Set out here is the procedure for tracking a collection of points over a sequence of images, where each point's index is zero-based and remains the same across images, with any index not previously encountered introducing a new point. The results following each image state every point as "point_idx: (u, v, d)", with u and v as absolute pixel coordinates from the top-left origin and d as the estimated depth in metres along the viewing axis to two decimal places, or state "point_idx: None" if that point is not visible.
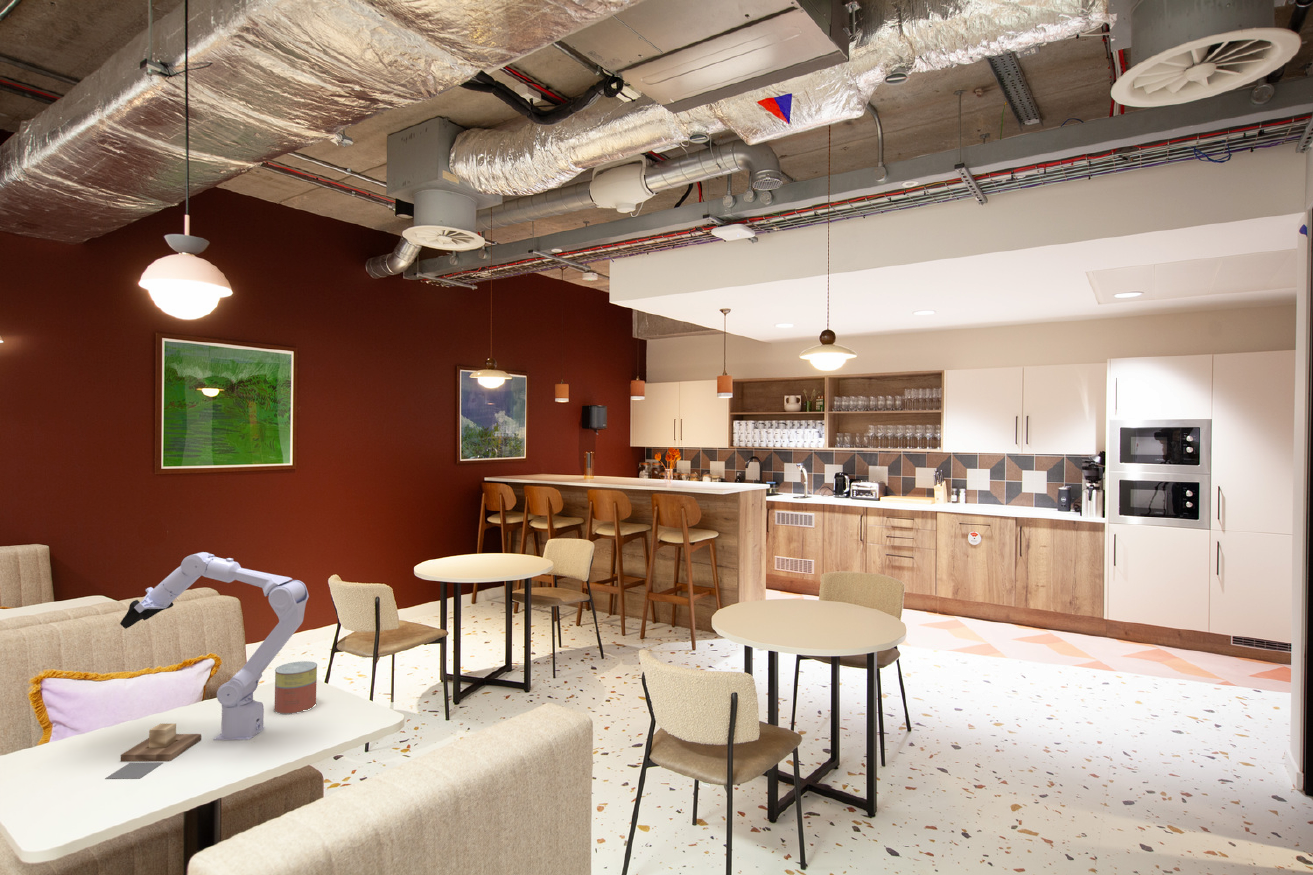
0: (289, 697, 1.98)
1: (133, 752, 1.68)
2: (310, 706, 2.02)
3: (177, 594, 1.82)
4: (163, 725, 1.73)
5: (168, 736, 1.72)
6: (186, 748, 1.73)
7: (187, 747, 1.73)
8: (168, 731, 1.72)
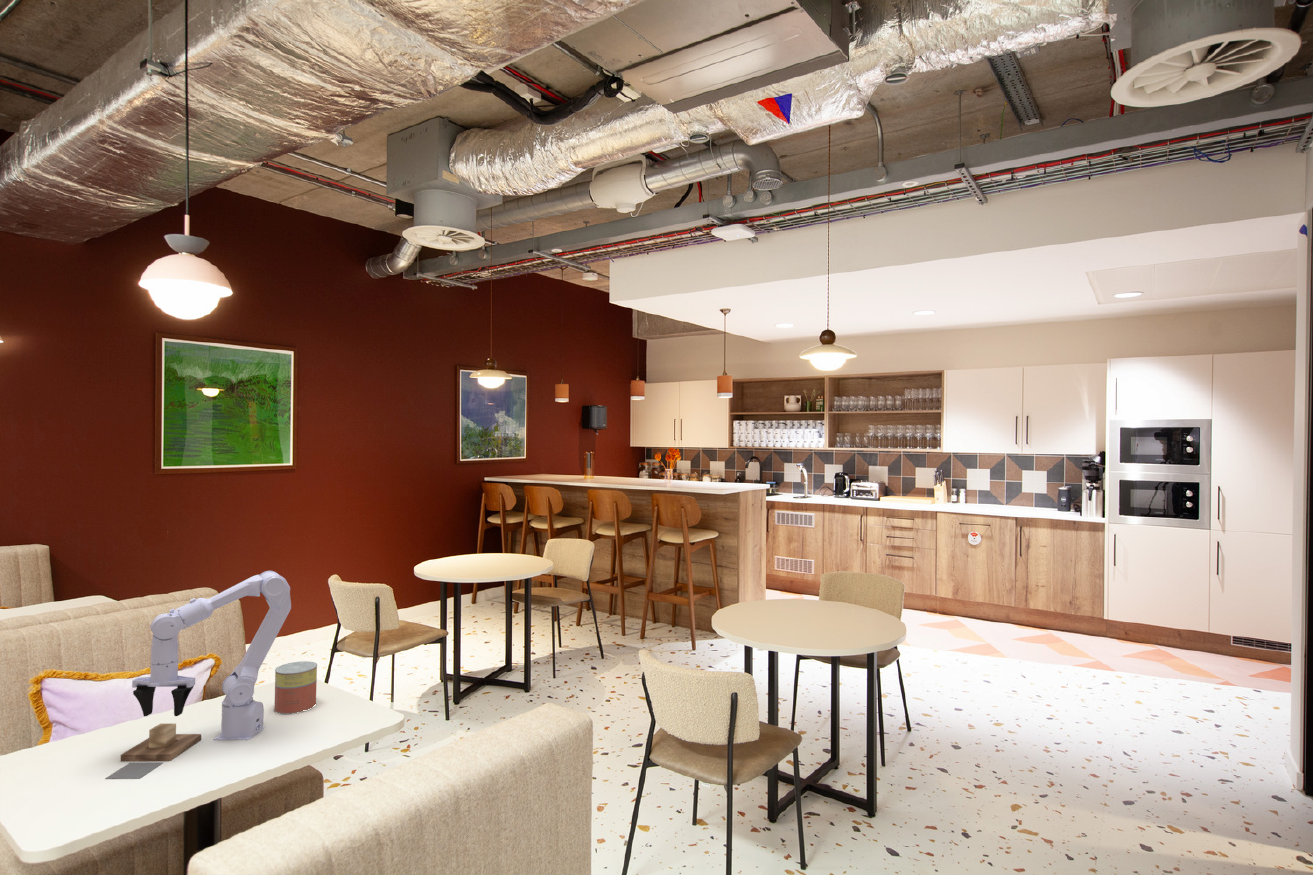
0: (289, 697, 1.98)
1: (133, 752, 1.68)
2: (310, 706, 2.02)
3: None
4: (163, 725, 1.73)
5: (168, 736, 1.72)
6: (186, 748, 1.73)
7: (187, 747, 1.73)
8: (168, 731, 1.72)
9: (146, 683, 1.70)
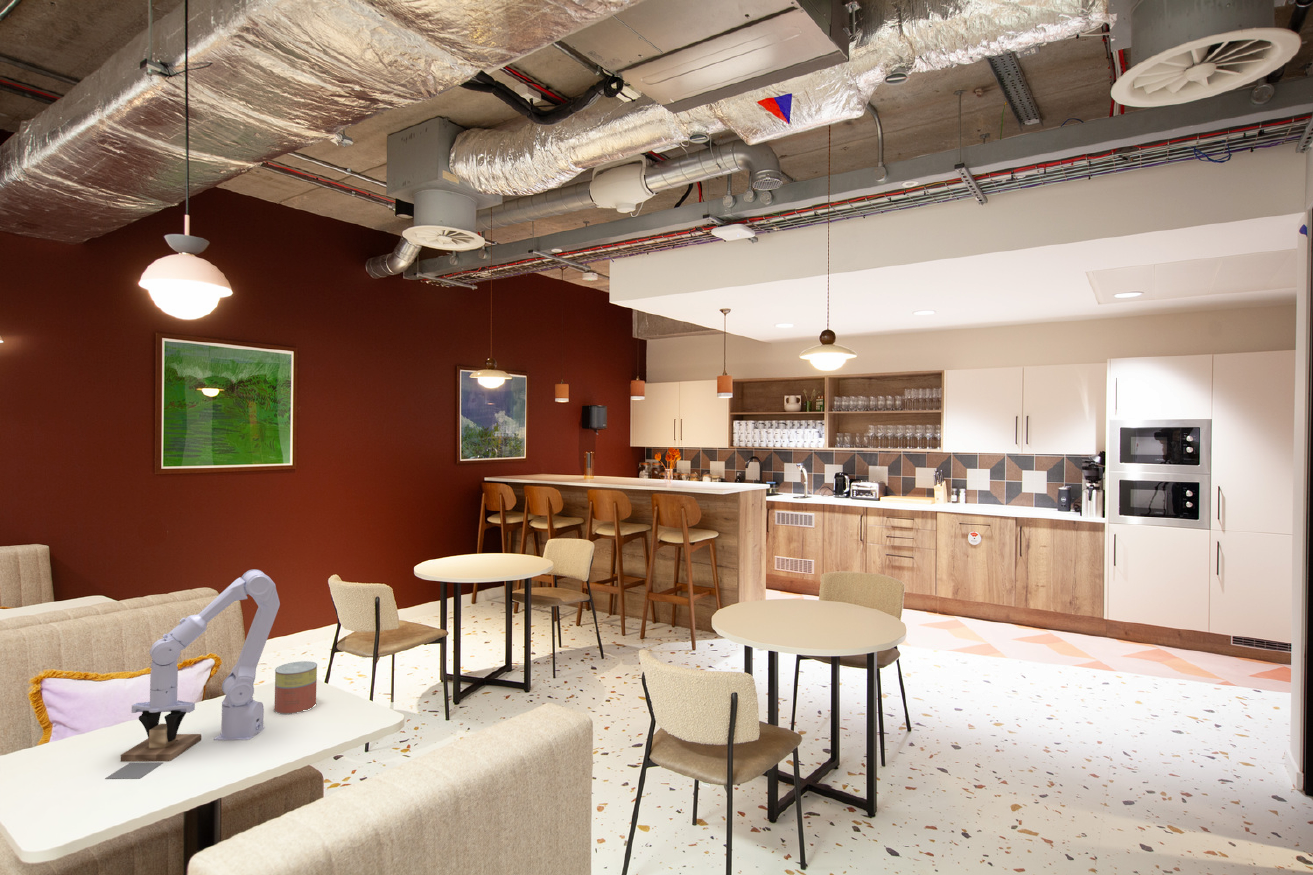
0: (289, 697, 1.98)
1: (133, 752, 1.68)
2: (310, 706, 2.02)
3: None
4: (163, 725, 1.73)
5: None
6: (186, 748, 1.73)
7: (187, 747, 1.73)
8: None
9: (145, 708, 1.70)
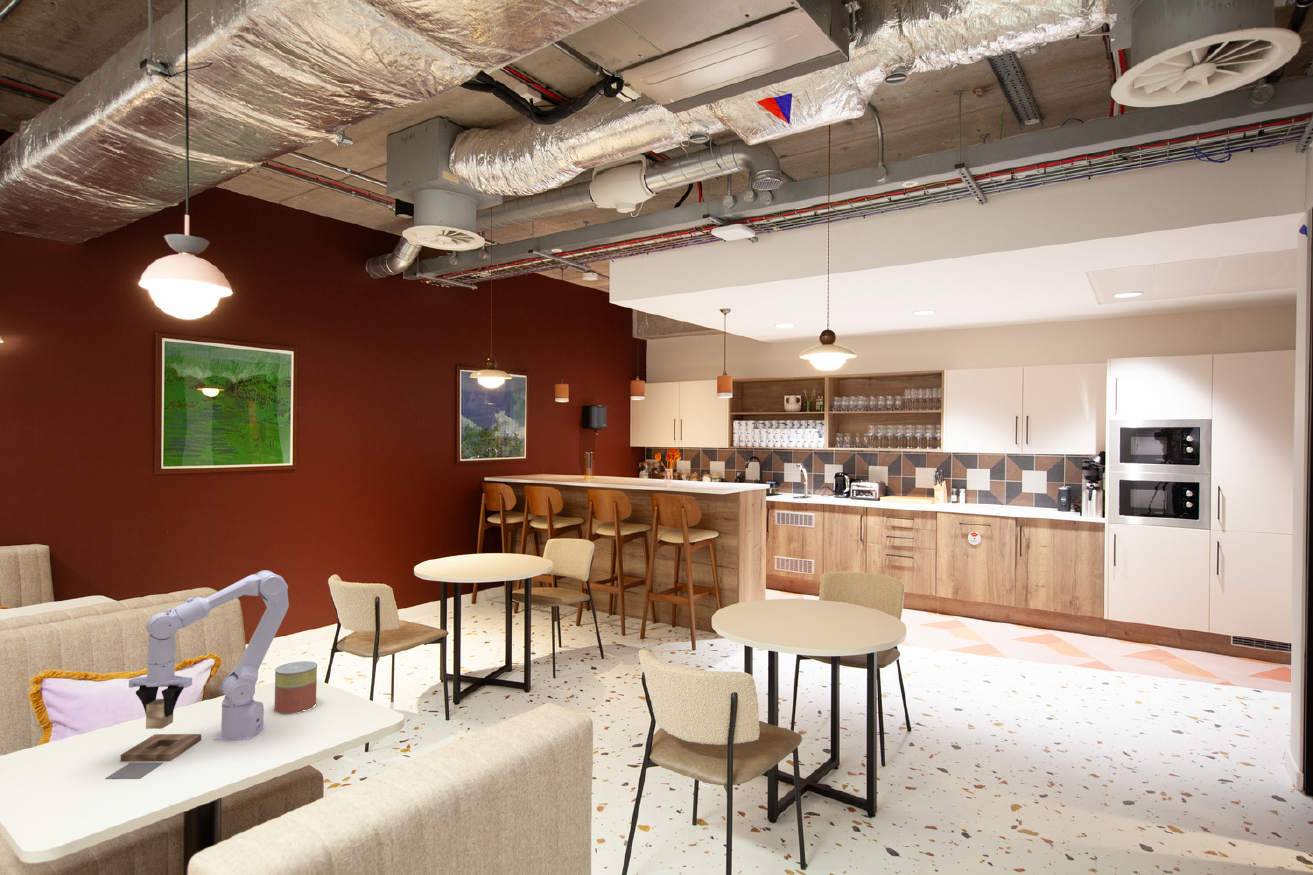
0: (289, 697, 1.98)
1: (133, 752, 1.68)
2: (310, 706, 2.02)
3: None
4: (160, 700, 1.72)
5: None
6: (186, 748, 1.73)
7: (187, 747, 1.73)
8: None
9: (142, 683, 1.69)
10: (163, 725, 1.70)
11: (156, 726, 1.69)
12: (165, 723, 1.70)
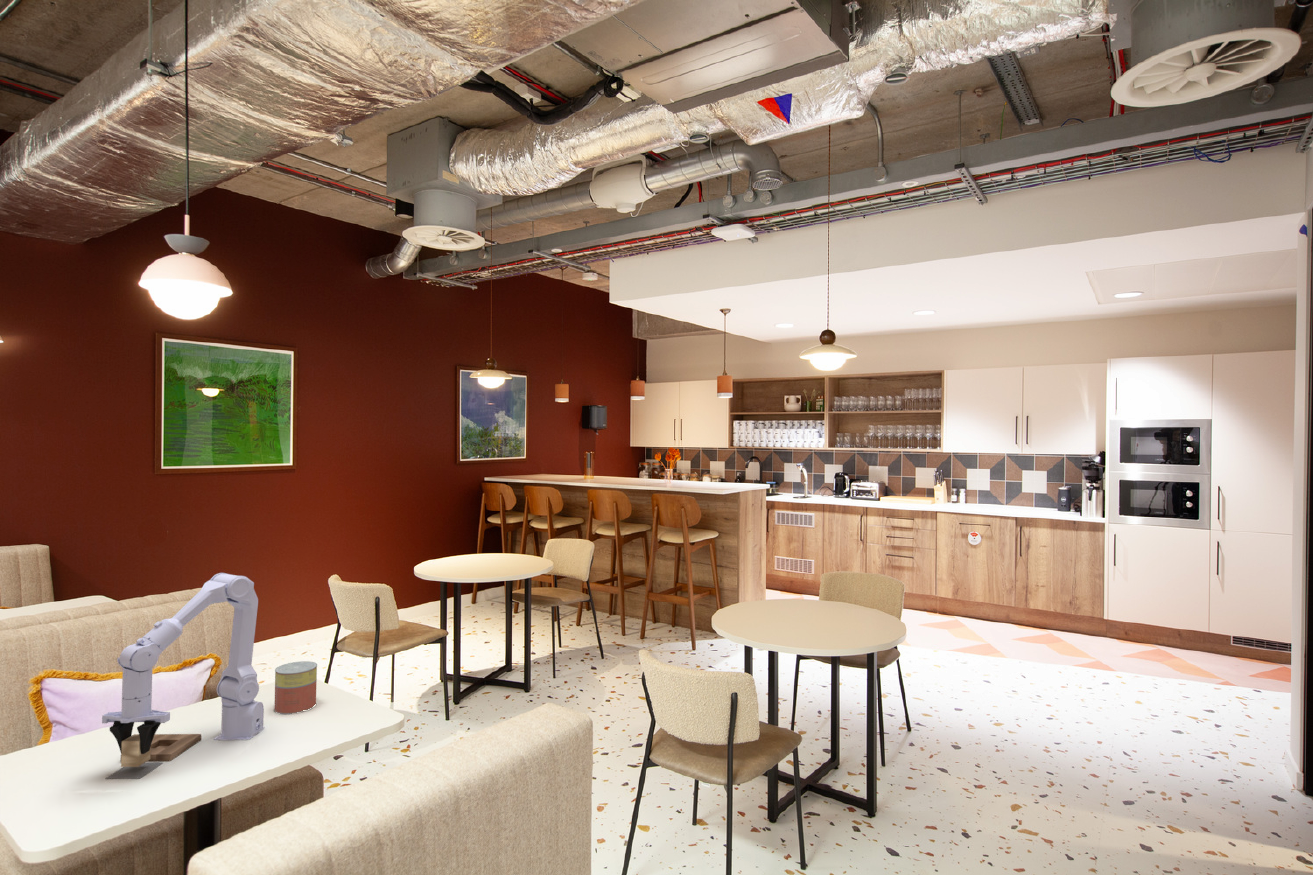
0: (289, 697, 1.98)
1: None
2: (310, 706, 2.02)
3: None
4: (137, 736, 1.63)
5: None
6: (186, 748, 1.73)
7: (187, 747, 1.73)
8: None
9: (117, 719, 1.59)
10: (139, 763, 1.60)
11: (132, 763, 1.60)
12: (142, 760, 1.61)
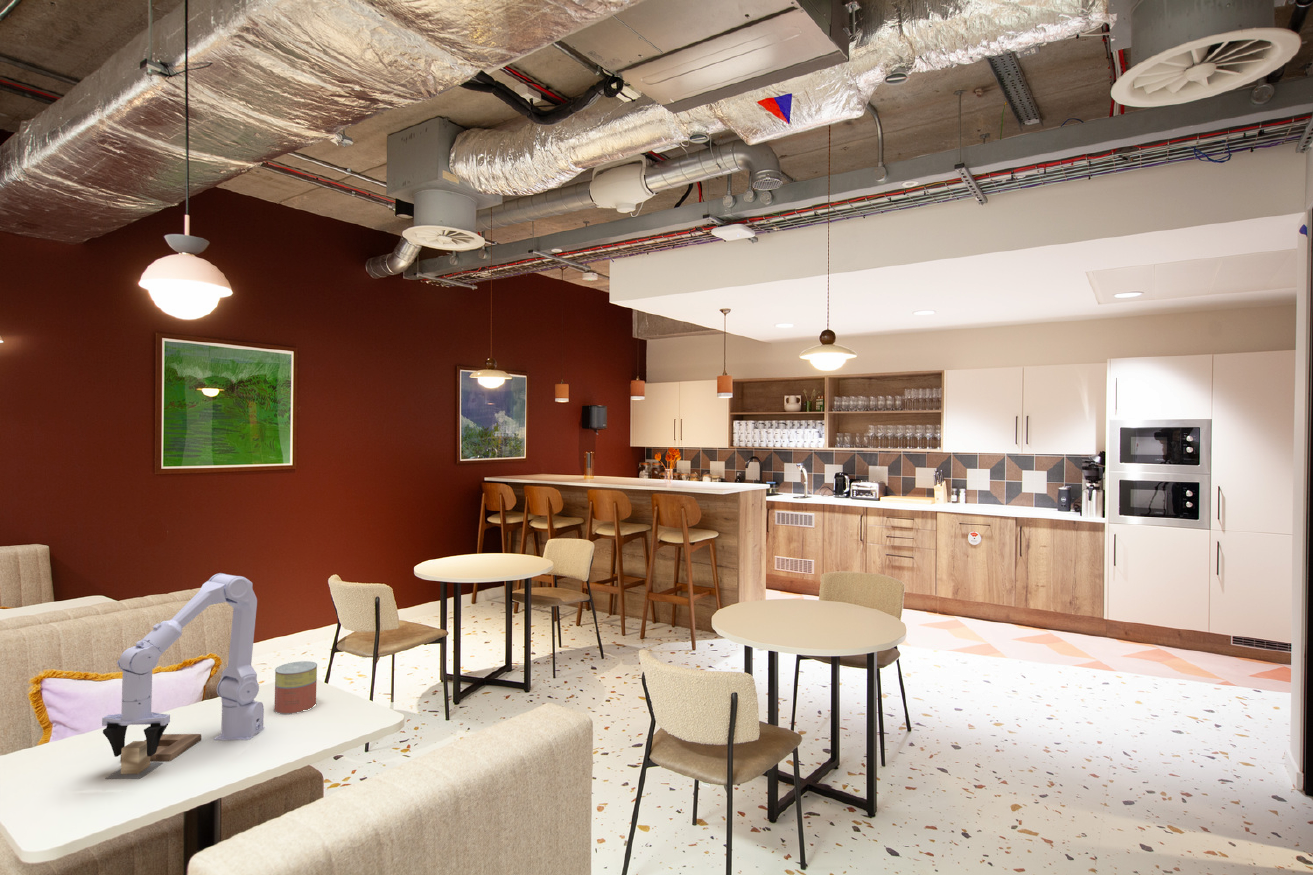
0: (289, 697, 1.98)
1: None
2: (310, 706, 2.02)
3: None
4: (137, 743, 1.63)
5: (142, 754, 1.61)
6: (186, 748, 1.73)
7: (187, 747, 1.73)
8: (142, 749, 1.61)
9: (117, 721, 1.59)
10: (139, 770, 1.60)
11: (132, 770, 1.60)
12: (142, 767, 1.61)
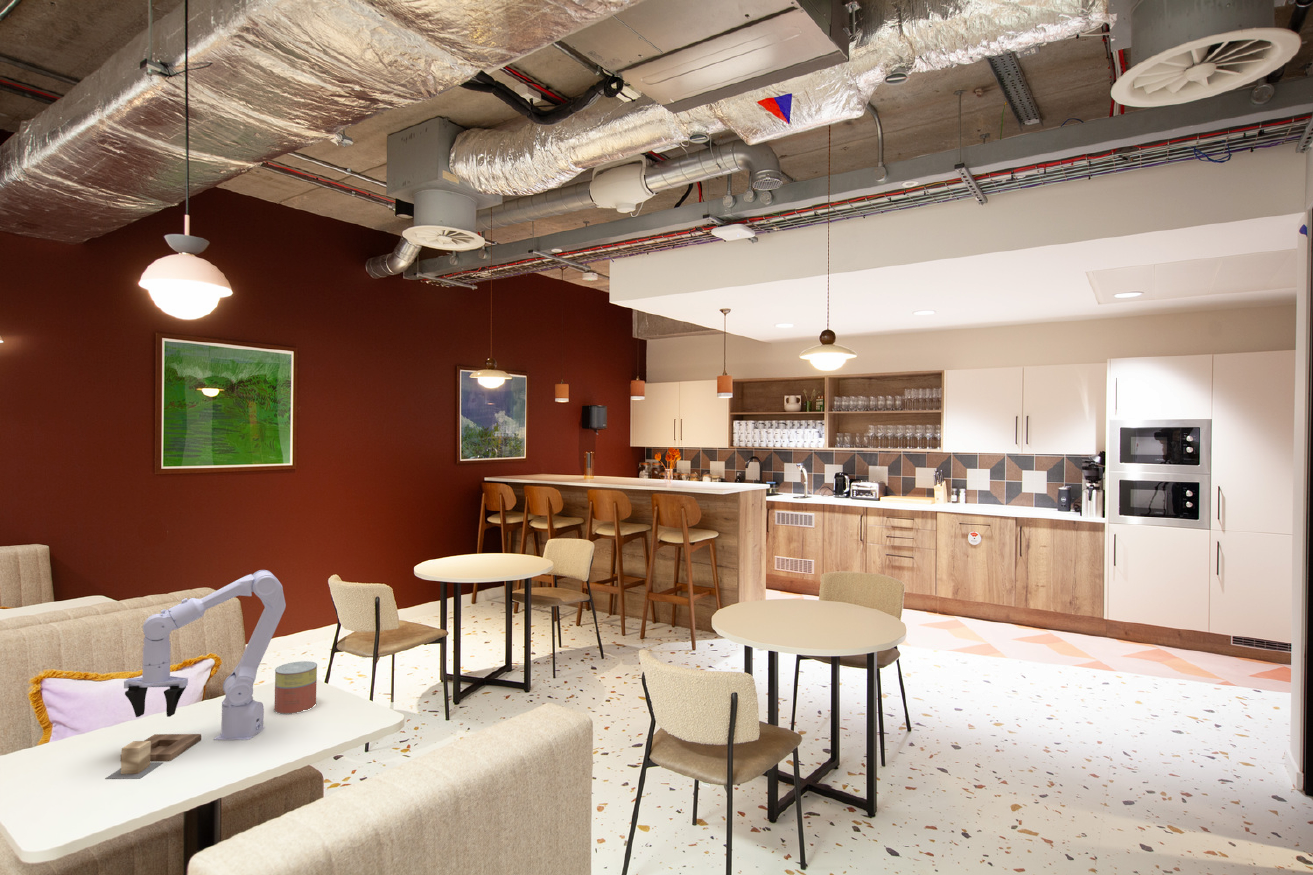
0: (289, 697, 1.98)
1: None
2: (310, 706, 2.02)
3: None
4: (137, 743, 1.63)
5: (142, 754, 1.61)
6: (186, 748, 1.73)
7: (187, 747, 1.73)
8: (142, 749, 1.61)
9: (138, 684, 1.70)
10: (139, 770, 1.60)
11: (132, 770, 1.60)
12: (142, 767, 1.61)
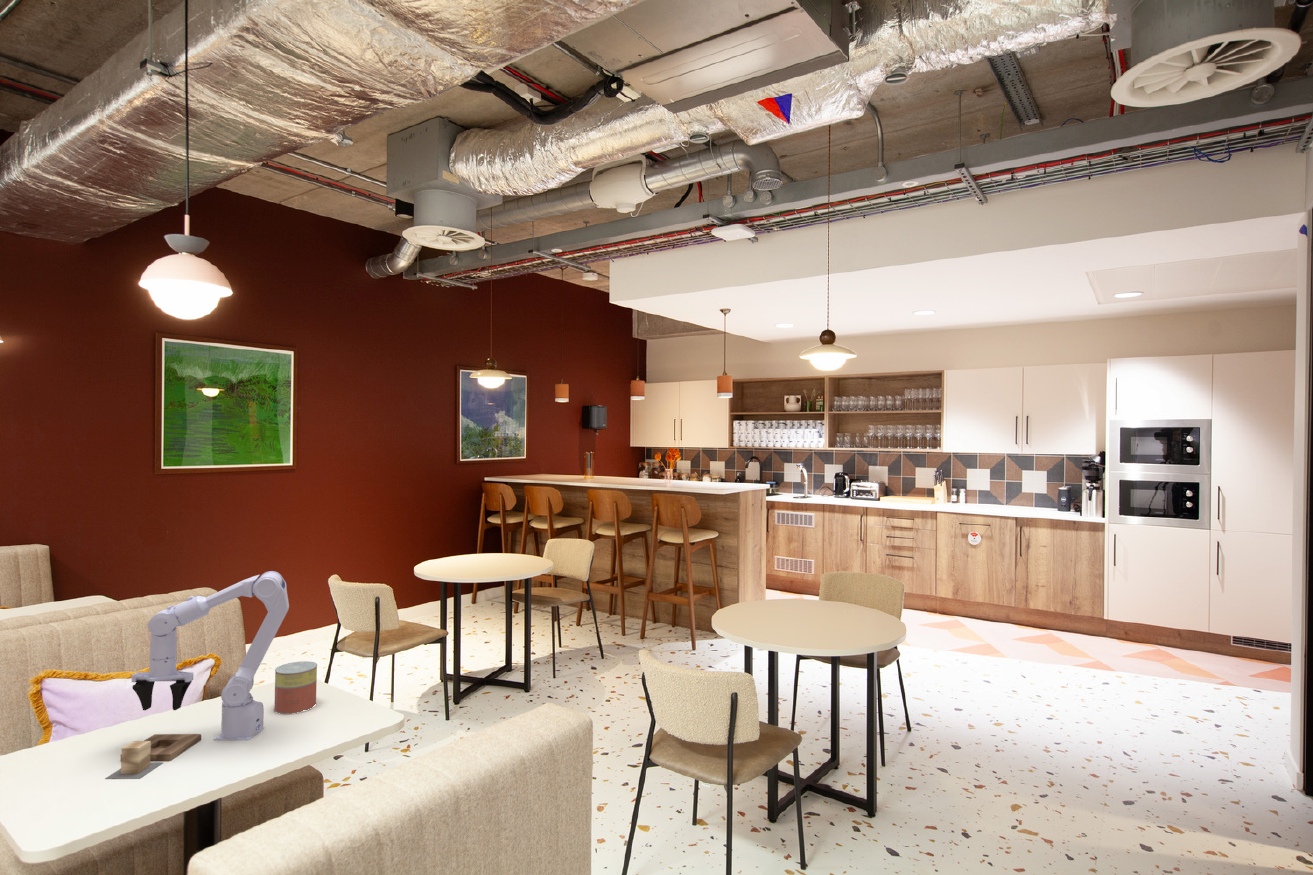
0: (289, 697, 1.98)
1: None
2: (310, 706, 2.02)
3: None
4: (137, 743, 1.63)
5: (142, 754, 1.61)
6: (186, 748, 1.73)
7: (187, 747, 1.73)
8: (142, 749, 1.61)
9: (145, 678, 1.74)
10: (139, 770, 1.60)
11: (132, 770, 1.60)
12: (142, 767, 1.61)
